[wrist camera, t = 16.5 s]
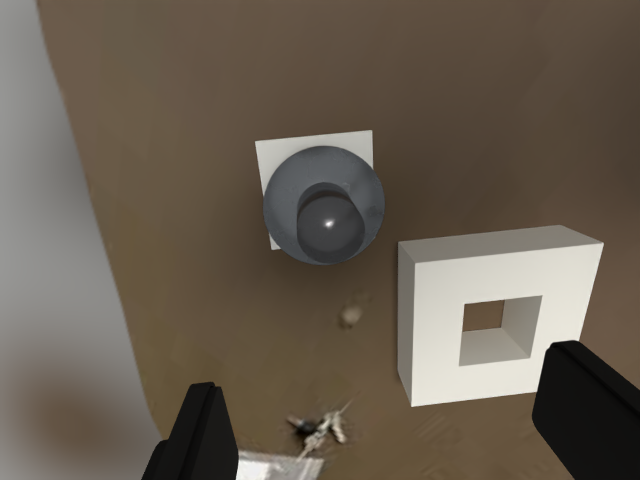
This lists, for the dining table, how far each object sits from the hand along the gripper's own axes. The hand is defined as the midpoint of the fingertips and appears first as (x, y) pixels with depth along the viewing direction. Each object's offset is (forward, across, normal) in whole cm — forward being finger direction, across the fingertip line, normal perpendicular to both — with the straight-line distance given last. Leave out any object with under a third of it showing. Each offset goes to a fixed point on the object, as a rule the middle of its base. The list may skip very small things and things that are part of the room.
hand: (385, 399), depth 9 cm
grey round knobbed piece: (+28, 0, 0) cm, 28 cm away
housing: (+28, -19, +17) cm, 38 cm away
